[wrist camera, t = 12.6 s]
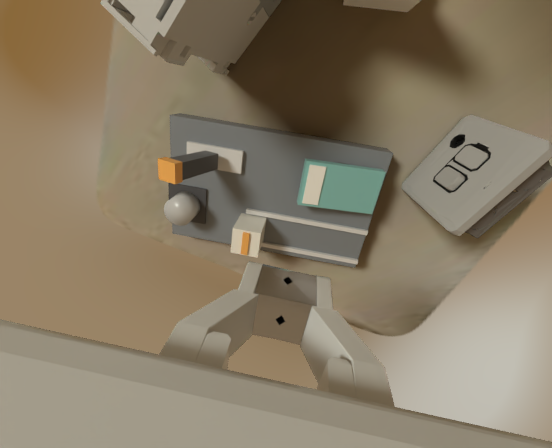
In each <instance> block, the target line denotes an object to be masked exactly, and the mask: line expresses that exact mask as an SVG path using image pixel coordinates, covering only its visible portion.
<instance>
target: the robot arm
mask: <svg viewBox="0 0 552 448" xmlns="http://www.w3.org/2000/svg"><path fill="white" fill-rule="evenodd" d="M252 335H257V336H262V337H268V338H273V339H277V340H282V341H286V342H290V343H294V344H298V345H300V347H301V349H302V351H303V353H304V355H305V357H306V360H307V362H308V363H309V366H310V368H311V370H312V372H313V374H314V376H315V378H316V380H317V382H318V387H317V389H311V388H307V387H302V386H297V385H293V384H289V383H284V382H280V381H275V380H271V379H266V378H261V377H257V376H253V375H248V374H243V373H239V372H234V371H230V370H227V368H228V360H229V357H230V356H231V355H232V354H233V353H234V352H236V351H237V350H238V349H239V347H241V346H242V345H243V344H244V343H245V342H246V341H247V340H248V339H249V338H250V337H251V336H252ZM0 448H552V442H550V441H545V440H541V439H536V438H532V437H527V436H523V435H518V434H514V433H509V432H505V431H500V430H496V429H491V428H487V427H482V426H478V425H473V424H469V423H464V422H459V421H455V420H451V419H446V418H442V417H437V416H433V415H428V414H424V413H419V412H415V411H410V410H405V409H401V408H397V407H394V402H393V398H392V394H391V390H390V387H389V382H388V378H387V374H386V370H385V367H384V366H383V365H382V363H381V362H380V361H379V360H378V359H377V357H376V356H375V355H374V354H373V353H372V352H371V350H370V349H369V348H368V347H367V346H366V344H365V343H364V342H363V341H362V340H361V338H360V337H359V336H358V335H357V334H356V333H355V331H354V330H353V329H352V328H351V327H350V325H349V324H348V323H347V322H346V321H345V319H344V318H343V317H342V316H341V315H340V313H339V312H338V311H335V310H333V301H332V289H331V279H330V278H328V277H323V276H317V275H316V276H314V275H309V274H304V273H300V272H295V271H290V270H286V269H282V268H278V267H273V266H269V265H265V264H263V265H262V264H260V263H255V262H250V261H249V262H248V264H247V267H246V269H245V272H244V275H243V277H242V280H241V283H240V286H239V288H238V290H235V289H234V290H232V291H230V292H228V293H226V294H225V295H223V296H222V297H220V298H218V299H216V300H215V301H213V302H212V303H210V304H208V305H206V306H204V307H203V308H201V309H200V310H198V311H196V312H194V313H192V314H191V315H189V316H187V317H186V318H184V319H182V320H181V321H179V322H178V323H177V325H176V326H175V328H174V330H173V331H172V333H171V335H170V337H169V338H168V340H167V342H166V344H165V345H164V347H163V349H162V351H161V352H160V354H159V355H158V354H153V353H149V352H144V351H140V350H135V349H131V348H127V347H122V346H118V345H113V344H108V343H104V342H99V341H95V340H90V339H86V338H81V337H77V336H72V335H68V334H63V333H59V332H54V331H50V330H45V329H41V328H36V327H32V326H27V325H23V324H18V323H13V322H9V321H4V320H0Z"/></svg>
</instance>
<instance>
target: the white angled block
mask: <svg viewBox="0 0 552 448" xmlns="http://www.w3.org/2000/svg"><path fill="white" fill-rule="evenodd" d="M420 1H421V0H344V2H343V5H346V6H355V7H364V8H373V9H382V10H391V11H400V12H408V11H409V10H411V9H412V8H413V7H414V6H415V5H416V4H418V3H419V2H420Z"/></svg>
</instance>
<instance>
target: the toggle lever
mask: <svg viewBox="0 0 552 448" xmlns="http://www.w3.org/2000/svg"><path fill="white" fill-rule="evenodd" d="M217 169H218V154H217V153H214V152H210V151H206V150H205V151H200V152H195V153H190V154H186V155H181V156H176V157H171V158H168V157H163V158H158V173H159V179H160V180H163V181H166V182H169V183H172V184H178V183H181V182H183V180H185V179H189V178H192V177H195V176H198V175H201V174H204V173H207V172H210V171H214V170H217Z"/></svg>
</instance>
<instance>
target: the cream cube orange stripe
mask: <svg viewBox="0 0 552 448" xmlns="http://www.w3.org/2000/svg"><path fill="white" fill-rule="evenodd" d="M265 225H266V217H260V216H255V215H249V214H244V213H241V215H240V216H239V218H238V220H237V222H236V223H235V225H234V227H233V230H232V242H231V253H236V254H242V255H247V256H252V257H257V258H258V255H259V252H260V249H261V246H262V242H263V239H264V232H265Z"/></svg>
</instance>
